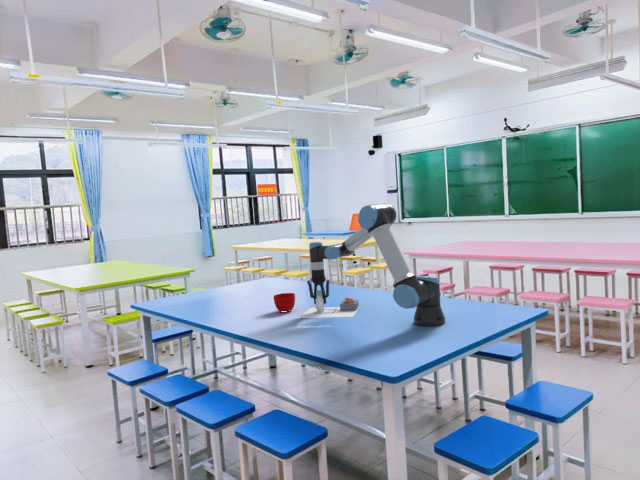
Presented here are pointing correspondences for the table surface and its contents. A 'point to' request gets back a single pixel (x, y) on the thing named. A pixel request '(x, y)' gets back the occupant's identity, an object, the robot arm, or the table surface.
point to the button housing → (349, 306)
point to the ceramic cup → (284, 301)
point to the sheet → (327, 313)
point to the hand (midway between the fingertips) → (320, 309)
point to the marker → (319, 300)
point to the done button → (349, 300)
